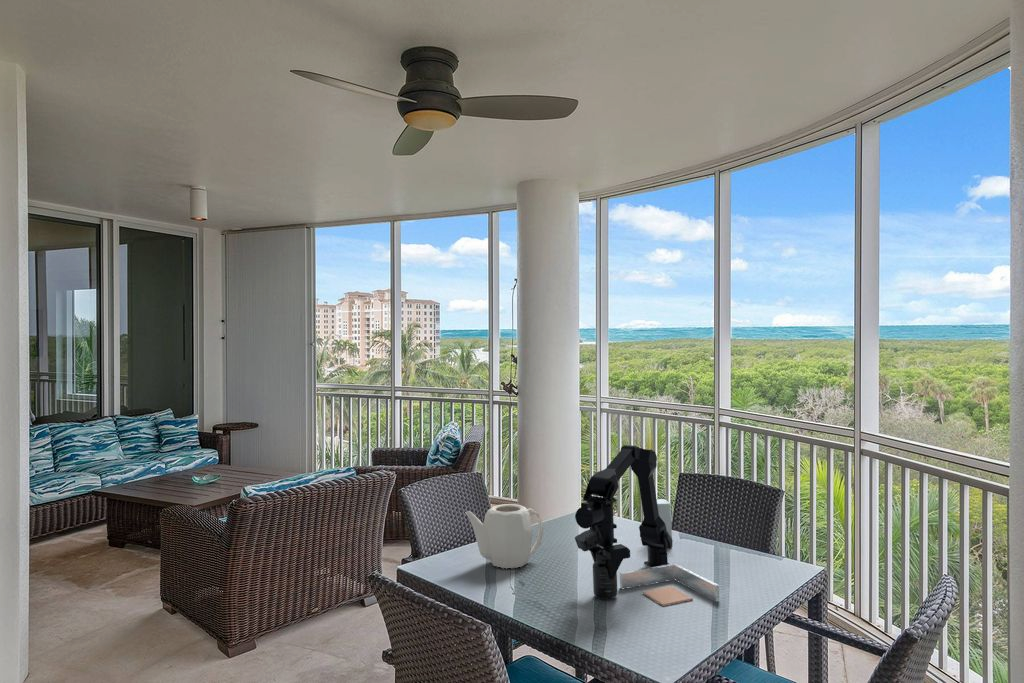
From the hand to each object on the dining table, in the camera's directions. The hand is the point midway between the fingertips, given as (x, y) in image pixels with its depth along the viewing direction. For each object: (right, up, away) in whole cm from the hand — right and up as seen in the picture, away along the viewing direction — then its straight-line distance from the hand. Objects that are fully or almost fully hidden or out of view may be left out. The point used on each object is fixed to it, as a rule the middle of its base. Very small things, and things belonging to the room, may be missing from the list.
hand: (605, 575), depth 173 cm
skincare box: (+28, -7, +47) cm, 55 cm away
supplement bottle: (0, -6, 0) cm, 6 cm away
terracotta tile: (+18, -6, -1) cm, 18 cm away
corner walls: (+18, -6, +1) cm, 19 cm away
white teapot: (-29, -8, +29) cm, 42 cm away
